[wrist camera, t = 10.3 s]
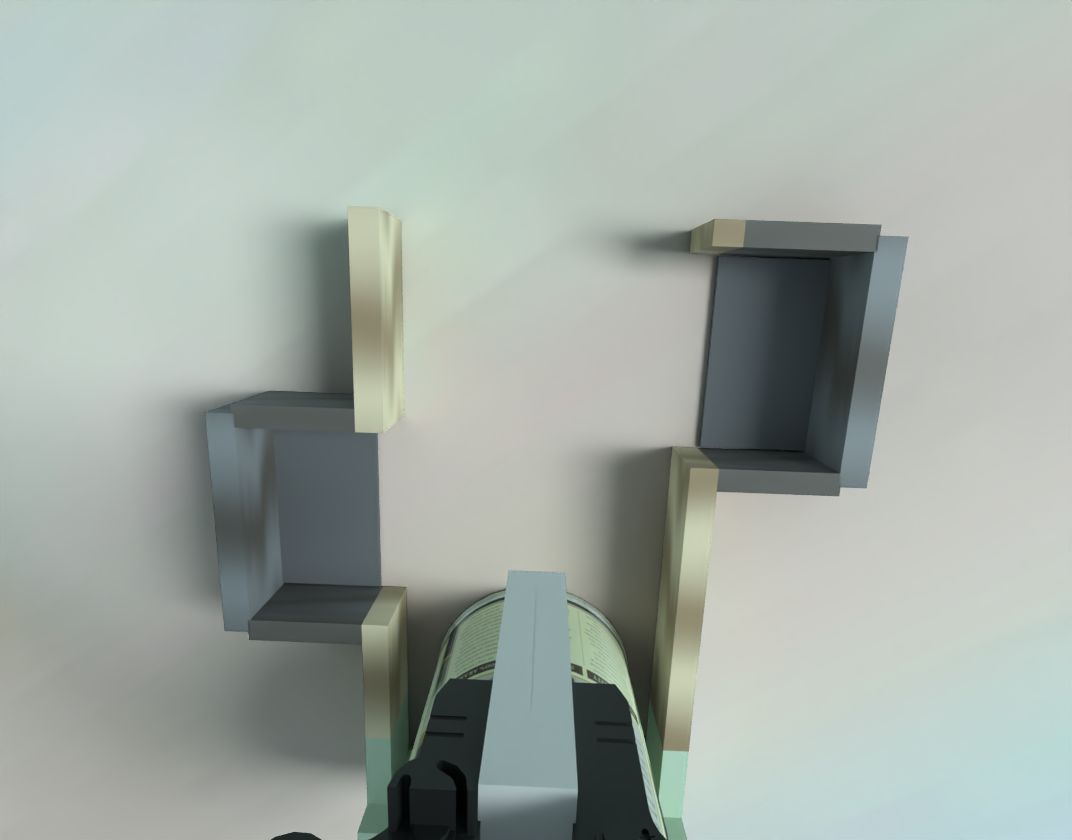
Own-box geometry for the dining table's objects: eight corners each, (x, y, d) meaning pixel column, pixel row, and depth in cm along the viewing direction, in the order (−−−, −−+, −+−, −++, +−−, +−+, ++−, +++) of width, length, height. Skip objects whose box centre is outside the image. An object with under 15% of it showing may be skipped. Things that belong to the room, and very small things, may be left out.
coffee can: (656, 721, 30) (748, 1070, 17) (480, 776, 31) (429, 1151, 18) (591, 556, 28) (634, 796, 15) (405, 620, 29) (282, 904, 16)
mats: (262, 240, 25) (260, 240, 25) (829, 260, 25) (831, 260, 25) (284, 580, 29) (282, 582, 29) (782, 600, 29) (783, 602, 29)
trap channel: (234, 214, 25) (185, 200, 22) (860, 235, 25) (910, 225, 22) (268, 683, 30) (233, 732, 27) (790, 705, 30) (821, 757, 27)
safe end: (385, 688, 30) (355, 763, 25) (672, 700, 30) (696, 777, 25) (387, 767, 31) (358, 853, 26) (664, 778, 31) (686, 868, 26)
